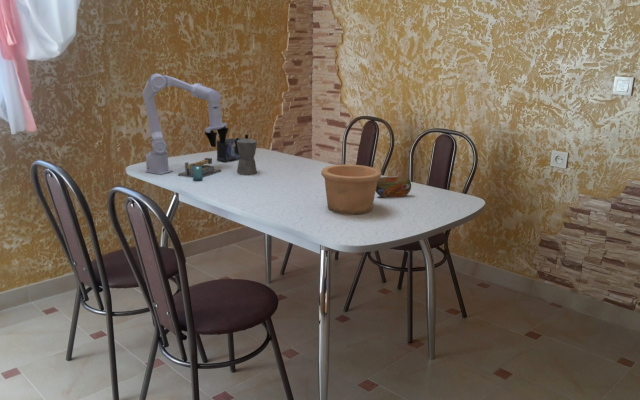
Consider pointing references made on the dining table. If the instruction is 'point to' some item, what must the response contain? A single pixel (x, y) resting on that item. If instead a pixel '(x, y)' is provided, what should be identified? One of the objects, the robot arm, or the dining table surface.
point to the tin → (393, 186)
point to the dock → (206, 170)
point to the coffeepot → (246, 155)
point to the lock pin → (201, 162)
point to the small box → (227, 151)
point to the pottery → (350, 188)
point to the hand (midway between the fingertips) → (218, 145)
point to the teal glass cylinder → (197, 173)
